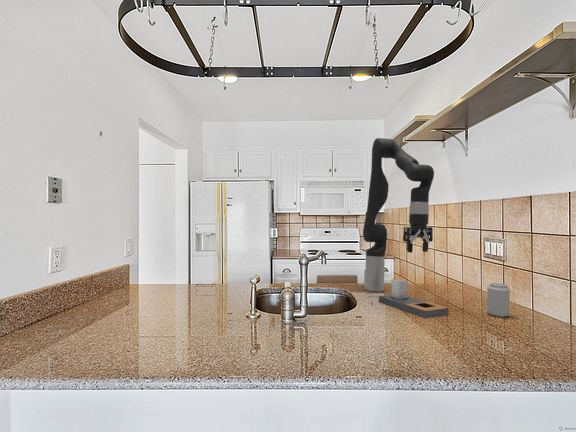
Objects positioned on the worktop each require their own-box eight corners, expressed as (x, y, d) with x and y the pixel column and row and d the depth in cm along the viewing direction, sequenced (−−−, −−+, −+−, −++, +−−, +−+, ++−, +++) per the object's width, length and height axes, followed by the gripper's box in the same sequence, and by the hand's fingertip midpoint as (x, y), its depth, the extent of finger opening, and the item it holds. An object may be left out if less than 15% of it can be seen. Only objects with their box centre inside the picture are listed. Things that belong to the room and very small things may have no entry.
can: (482, 313, 141) (483, 282, 141) (495, 311, 144) (495, 281, 144) (500, 318, 134) (501, 286, 134) (513, 316, 137) (514, 285, 137)
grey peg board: (378, 301, 157) (378, 295, 157) (400, 299, 162) (400, 293, 162) (425, 317, 133) (425, 310, 133) (448, 314, 138) (448, 307, 138)
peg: (391, 303, 155) (392, 279, 155) (399, 302, 157) (400, 279, 157) (398, 305, 151) (399, 281, 151) (407, 304, 153) (407, 281, 153)
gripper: (424, 213, 156) (422, 250, 156) (399, 212, 150) (397, 251, 150) (438, 213, 149) (437, 252, 150) (413, 212, 143) (411, 253, 143)
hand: (417, 252), depth 150 cm, fingers open, 8 cm apart
